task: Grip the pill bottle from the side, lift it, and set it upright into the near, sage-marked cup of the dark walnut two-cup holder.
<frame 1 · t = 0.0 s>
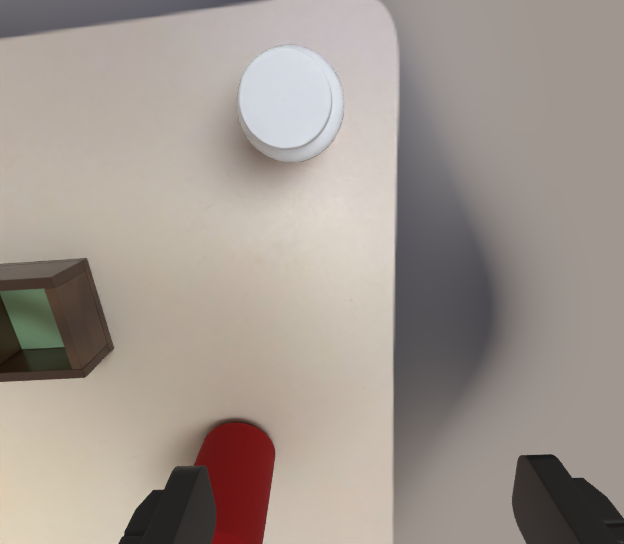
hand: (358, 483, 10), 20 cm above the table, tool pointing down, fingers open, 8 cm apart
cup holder: (10, 310, 31), on the table
pill bottle: (299, 114, 25), on the table
beverage can: (241, 443, 35), on the table
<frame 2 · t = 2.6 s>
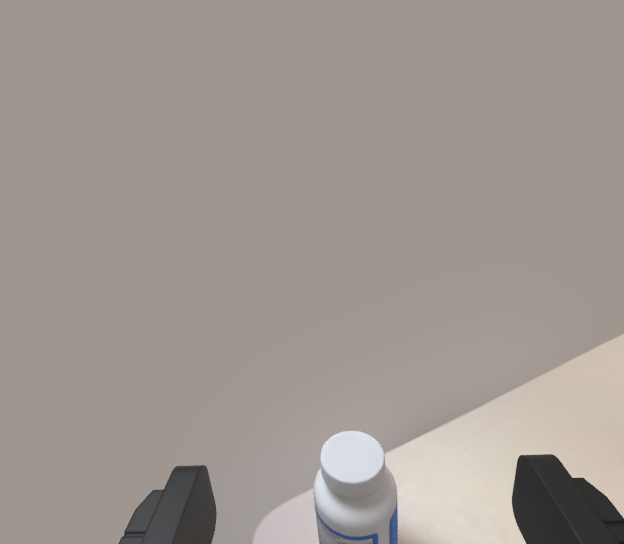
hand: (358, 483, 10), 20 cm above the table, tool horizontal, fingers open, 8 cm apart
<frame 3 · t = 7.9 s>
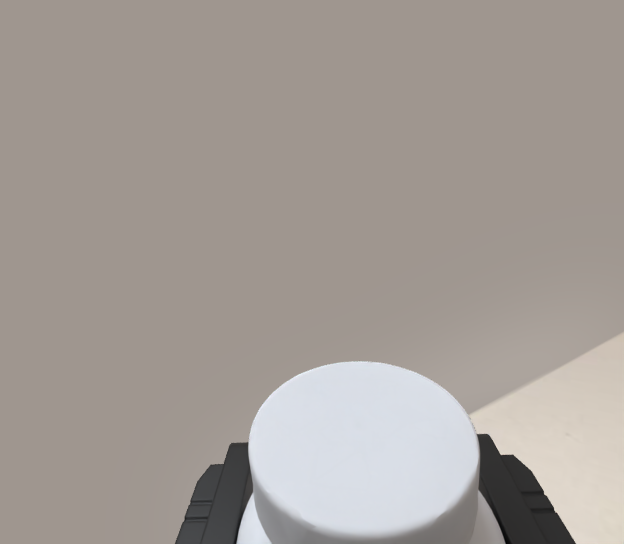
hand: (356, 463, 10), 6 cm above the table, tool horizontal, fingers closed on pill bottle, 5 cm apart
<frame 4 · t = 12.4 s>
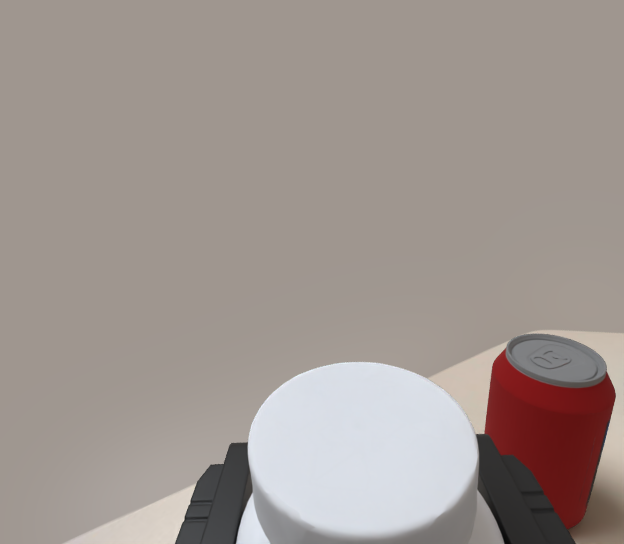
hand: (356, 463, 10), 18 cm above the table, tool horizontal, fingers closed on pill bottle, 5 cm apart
beverage can: (528, 495, 28), on the table
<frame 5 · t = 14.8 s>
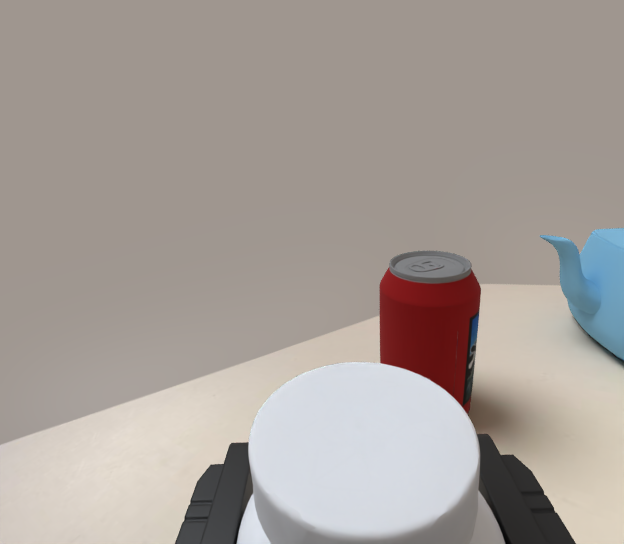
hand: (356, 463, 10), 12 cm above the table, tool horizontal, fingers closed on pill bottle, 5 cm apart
beverage can: (423, 406, 30), on the table
when the fingers open (7 cm above the table, at t = 16.9 s): pill bottle stays where it is, resting on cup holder.
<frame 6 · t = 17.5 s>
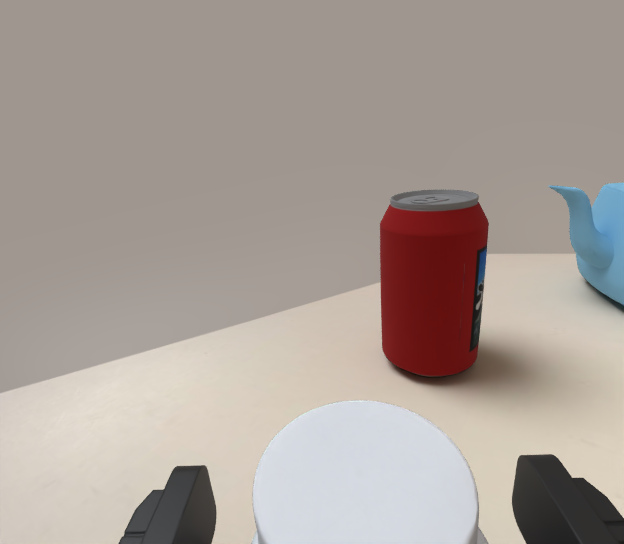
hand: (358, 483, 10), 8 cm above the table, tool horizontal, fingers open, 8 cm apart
beverage can: (427, 359, 28), on the table
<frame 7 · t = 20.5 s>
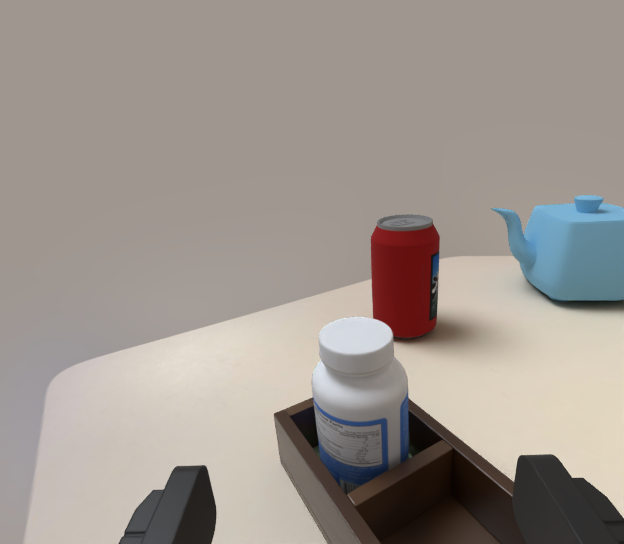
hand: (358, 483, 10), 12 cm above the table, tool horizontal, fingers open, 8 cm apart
teapot: (561, 290, 47), on the table
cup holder: (402, 525, 21), on the table
pill bottle: (363, 471, 24), point 1 cm above the table, touching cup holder
beverage can: (404, 328, 42), on the table
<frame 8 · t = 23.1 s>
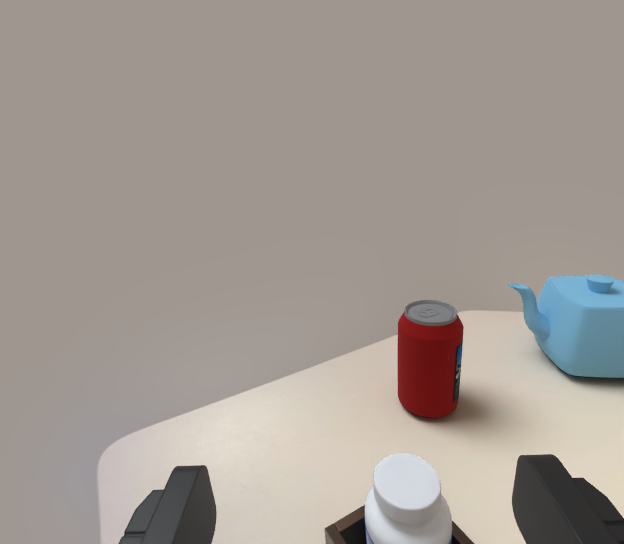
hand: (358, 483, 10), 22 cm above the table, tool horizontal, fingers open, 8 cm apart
teapot: (572, 358, 50), on the table
beverage can: (427, 403, 44), on the table
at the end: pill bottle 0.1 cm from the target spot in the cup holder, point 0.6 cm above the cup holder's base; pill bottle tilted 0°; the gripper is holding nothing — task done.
